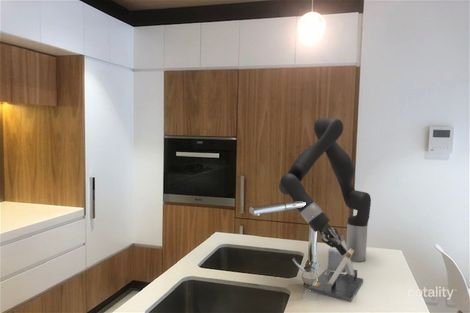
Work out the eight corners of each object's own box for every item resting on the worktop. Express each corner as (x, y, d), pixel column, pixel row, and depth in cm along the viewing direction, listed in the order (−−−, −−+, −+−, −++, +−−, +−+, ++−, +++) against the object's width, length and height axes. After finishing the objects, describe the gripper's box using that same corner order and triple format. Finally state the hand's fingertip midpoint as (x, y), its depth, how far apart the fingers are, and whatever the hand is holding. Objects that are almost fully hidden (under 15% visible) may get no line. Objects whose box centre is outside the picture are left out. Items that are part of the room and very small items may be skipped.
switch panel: (325, 273, 155) (325, 263, 155) (363, 282, 147) (363, 271, 147) (309, 290, 138) (309, 279, 138) (350, 302, 130) (351, 290, 130)
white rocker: (327, 282, 140) (350, 247, 135) (332, 286, 139) (355, 251, 134) (324, 287, 136) (346, 251, 131) (329, 290, 135) (352, 255, 130)
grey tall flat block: (351, 276, 148) (338, 235, 150) (356, 276, 147) (343, 234, 149) (348, 280, 144) (335, 238, 146) (353, 280, 143) (340, 237, 145)
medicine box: (345, 268, 161) (346, 249, 160) (346, 272, 157) (347, 253, 156) (327, 266, 163) (328, 247, 163) (327, 269, 159) (328, 251, 158)
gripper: (316, 214, 132) (348, 253, 126) (327, 207, 143) (356, 243, 138) (301, 226, 135) (332, 264, 130) (313, 218, 146) (342, 254, 141)
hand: (344, 253), depth 134 cm, fingers closed
